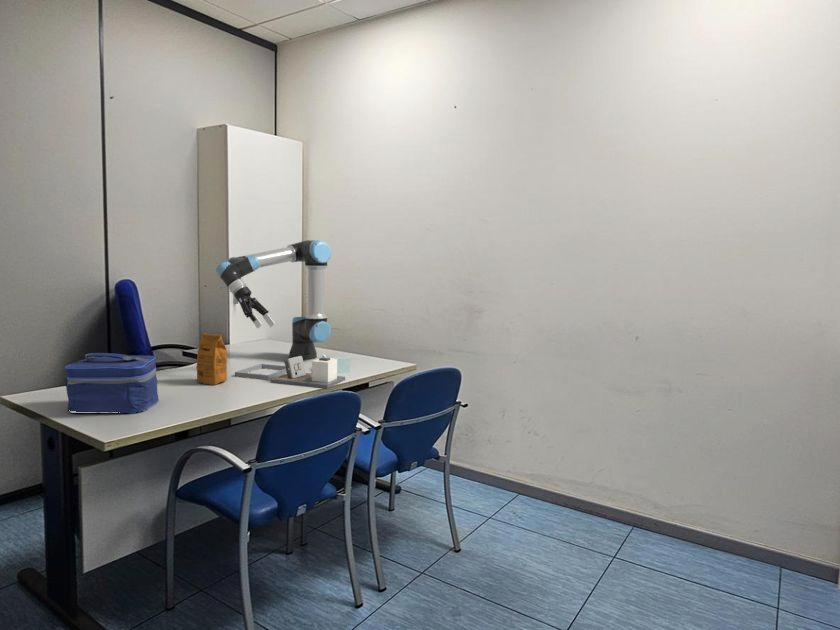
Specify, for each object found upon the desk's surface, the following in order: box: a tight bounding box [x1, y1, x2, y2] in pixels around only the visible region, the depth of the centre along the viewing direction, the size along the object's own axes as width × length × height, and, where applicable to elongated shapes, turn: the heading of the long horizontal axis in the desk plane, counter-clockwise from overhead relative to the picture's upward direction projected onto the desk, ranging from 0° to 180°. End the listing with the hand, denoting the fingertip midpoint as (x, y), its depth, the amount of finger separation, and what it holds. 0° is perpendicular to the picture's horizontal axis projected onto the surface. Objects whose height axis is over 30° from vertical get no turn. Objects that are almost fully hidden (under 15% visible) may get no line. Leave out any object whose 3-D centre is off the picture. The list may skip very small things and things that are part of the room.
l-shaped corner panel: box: [322, 353, 351, 374], centre depth 282 cm, size 12×12×8 cm
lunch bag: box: [64, 352, 159, 414], centre depth 209 cm, size 31×21×20 cm
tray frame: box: [234, 363, 289, 381], centre depth 272 cm, size 22×18×2 cm
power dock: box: [270, 356, 346, 389], centre depth 257 cm, size 18×28×11 cm, turn 72°
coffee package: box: [196, 332, 228, 386], centre depth 250 cm, size 10×12×22 cm
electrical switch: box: [283, 356, 307, 379], centre depth 260 cm, size 9×5×9 cm, turn 151°
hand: (266, 326), depth 265 cm, fingers open, 13 cm apart
